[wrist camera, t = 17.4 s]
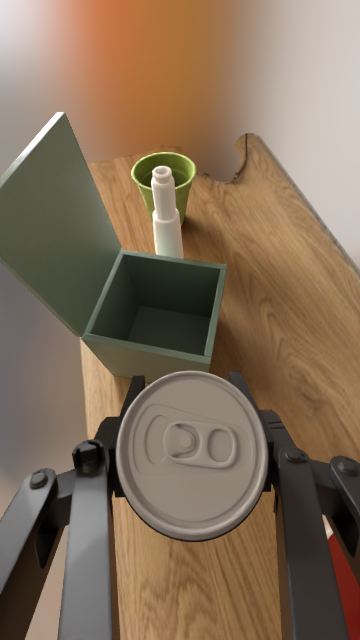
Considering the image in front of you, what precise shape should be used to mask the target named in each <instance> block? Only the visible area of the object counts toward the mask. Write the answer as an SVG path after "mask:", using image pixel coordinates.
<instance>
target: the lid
mask: <svg viewBox="0 0 360 640" xmlns="http://www.w3.org/2000/svg"><path fill="white" fill-rule="evenodd" d="M120 249H121V244H120V242H119V239H118V237H117V235H116V232H115V230H114V228H113V225H112V223H111V220H110V218H109V216H108V213H107V211H106V209H105V206H104V204H103V201H102V199H101V197H100V194H99V192H98V189H97V187H96V185H95V182H94V180H93V178H92V175H91V173H90V170H89V168H88V166H87V163H86V161H85V159H84V156H83V154H82V151H81V149H80V147H79V144H78V142H77V140H76V137H75V135H74V133H73V130H72V128H71V125H70V123H69V120H68V118H67V116H66V114H65V112H57V113H56V114H55V116H54V117H53V118H52V119H51V120H50V121H49V123H48V124H47V125H46V126H45V127H44V128H43V129H42V130H41V132H40V133H39V134H38V135H37V136H36V137H35V139H34V140H33V141H32V142H31V143H30V144H29V145H28V146H27V148H26V149H25V150H24V151H23V152H22V154H21V155H20V156H19V157H18V158H17V159H16V160H15V162H14V163H13V164H12V165H11V166H10V167H9V168H8V170H7V171H6V172H5V173H4V174H3V175H2V176H1V178H0V263H1V264H2V265H3V266H4V267H5V268H6V269H7V270H8V271H9V272H10V273H11V274H12V275H13V276H14V277H15V278H16V279H17V280H18V281H19V282H20V283H22V284H23V285H24V286H25V287H26V288H27V289H28V290H29V291H30V292H31V293H32V294H33V295H34V296H35V297H36V298H37V299H38V300H39V301H40V302H41V303H42V304H43V305H44V306H45V307H46V308H48V309H49V310H50V311H51V312H52V313H53V314H54V315H55V316H56V317H57V318H58V319H59V320H60V321H61V322H62V323H63V324H64V325H65V326H66V327H67V328H68V329H69V330H70V331H71V332H72V333H73V334H75V335H76V336H78V337H83V334H84V332H85V330H86V327H87V325H88V323H89V321H90V318H91V316H92V314H93V311H94V309H95V307H96V305H97V302H98V300H99V298H100V295H101V293H102V291H103V288H104V286H105V284H106V282H107V279H108V277H109V275H110V272H111V270H112V268H113V266H114V263H115V261H116V259H117V256H118V254H119V252H120Z"/></svg>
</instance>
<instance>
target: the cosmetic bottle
mask: <svg viewBox="0 0 360 640" xmlns="http://www.w3.org/2000/svg"><path fill="white" fill-rule="evenodd" d="M152 174H153V178H152V181H151V184H152V192H153V199H154V207H155V211H154V212H153V227H154V238H155V249H156V255H162V256H168V257H175V258H182V259H184V257H183V246H182V235H181V225H180V216H179V211H178V210H177V209H176V201H175V182H174V178H173V177H172V171H171V169H170V168H169V167H167V166H159V167H156V168H155V169H154V170H153V171H152Z"/></svg>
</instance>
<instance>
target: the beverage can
mask: <svg viewBox="0 0 360 640" xmlns="http://www.w3.org/2000/svg"><path fill="white" fill-rule="evenodd" d="M115 462H116V470H117V475H118V479H119V483H120V486H121V489H122V491H123V493H124V496H125V498H126V500H127V501H128V503H129V505H130V506H131V508H132V509H133V510H134V512H135V513H136V514H137V515H138V517H139V518H140V519H141V520H142V521H143V522H144V523H145V524H147V525H148V526H149V527H150V528H152V529H153V530H155V531H156V532H158V533H160V534H162V535H164V536H166V537H169V538H172V539H175V540H179V541H185V542H203V541H208V540H212V539H216V538H218V537H221V536H223V535H225V534H227V533H229V532H230V531H232V530H233V529H235V528H236V527H237V526H239V525H240V524H241V523H242V522H243V521H244V520H245V519H246V518H247V517H248V516H249V515H250V513H251V512H252V511H253V509H254V508H255V506H256V504H257V503H258V501H259V499H260V497H261V495H262V492H263V490H264V487H265V483H266V479H267V474H268V467H269V450H268V442H267V437H266V433H265V430H264V427H263V424H262V421H261V419H260V417H259V415H258V413H257V411H256V410H255V408H254V407H253V405H252V404H251V402H250V401H249V400H248V399H247V397H246V396H245V395H244V394H243V393H242V392H241V391H240V390H239V389H237V388H236V387H235V386H234V385H232V384H231V383H229V382H228V381H226V380H224V379H222V378H220V377H218V376H215V375H213V374H210V373H206V372H201V371H181V372H176V373H172V374H169V375H166V376H164V377H161V378H159V379H157V380H155V381H154V382H152V383H151V384H149V385H148V386H147V387H145V388H144V389H143V390H142V391H141V392H140V393H139V394H138V395H137V396H136V397H135V399H134V400H133V401H132V403H131V404H130V406H129V407H128V409H127V411H126V412H125V414H124V416H123V419H122V421H121V424H120V427H119V430H118V434H117V440H116V448H115Z"/></svg>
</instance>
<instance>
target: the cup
mask: <svg viewBox="0 0 360 640" xmlns="http://www.w3.org/2000/svg"><path fill="white" fill-rule="evenodd" d="M322 516H323V521H324V525H325V530H326V534H327V539H328V543H329V548H330V552H331V556H332V561H333V565H334V570H335V574H336V579H337V583H338V588H339V592H340V596H341V601H342V605H343V610H344V614H345V619H346V623H347V628H348V632H349V637H350V640H360V587H359V585H358V583H357V580H356V578H355V576H354V574H353V572H352V570H351V568H350V566H349V564H348V562H347V560H346V558H345V556H344V554H343V552H342V550H341V548H340V546H339V543H338V541H337V539H336V537H335V535H334V533H333V531H332V529H331V527H330V525H329V523H328V521H327V519H326V517H325V515H322Z"/></svg>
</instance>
